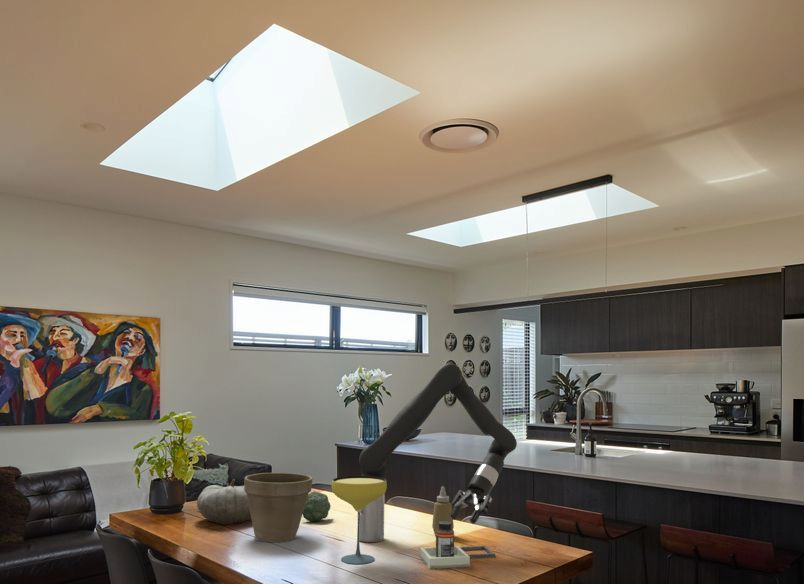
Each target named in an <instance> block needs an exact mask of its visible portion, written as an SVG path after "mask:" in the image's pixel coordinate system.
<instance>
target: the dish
mask: <svg viewBox="0 0 804 584" xmlns="http://www.w3.org/2000/svg"><path fill="white" fill-rule="evenodd" d="M460 547H461V546H459V545H454V557H436V546H431V547H430V546H428V547H424V546H423V547H419V557H420V558H419V559H421V560H422V561H423V563H424V564H425V566H426V567H427V568H428V569H429V570H433V569H434V570H435V568H437V569H453V568H454V569H455V568H470V567H471V558H470V556H468V555H467V554H468V553H467V552H465V550H464V551H463V550H462V549H461V548H460Z"/></svg>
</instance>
